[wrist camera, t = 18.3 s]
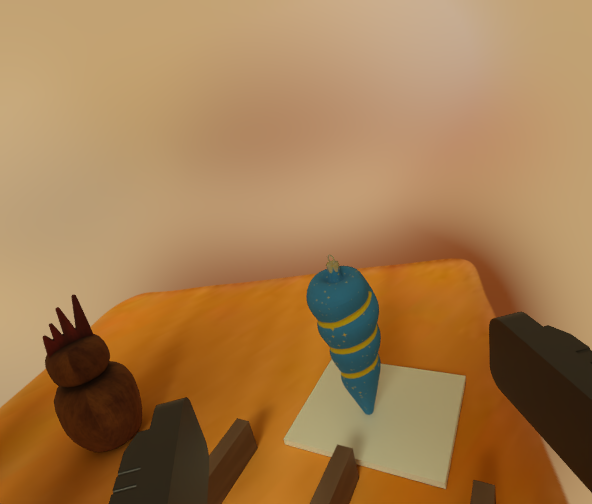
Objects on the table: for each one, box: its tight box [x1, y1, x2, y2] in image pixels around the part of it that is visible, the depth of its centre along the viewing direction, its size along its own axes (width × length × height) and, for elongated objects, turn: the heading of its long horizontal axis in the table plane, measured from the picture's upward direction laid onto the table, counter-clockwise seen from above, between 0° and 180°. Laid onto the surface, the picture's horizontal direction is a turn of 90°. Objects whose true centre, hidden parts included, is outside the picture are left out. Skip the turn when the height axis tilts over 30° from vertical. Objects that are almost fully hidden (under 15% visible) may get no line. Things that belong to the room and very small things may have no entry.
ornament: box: [307, 255, 381, 415], centre depth 33 cm, size 5×5×15 cm
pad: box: [284, 359, 466, 489], centre depth 36 cm, size 13×11×1 cm
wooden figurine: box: [43, 295, 142, 452], centre depth 37 cm, size 7×6×15 cm
